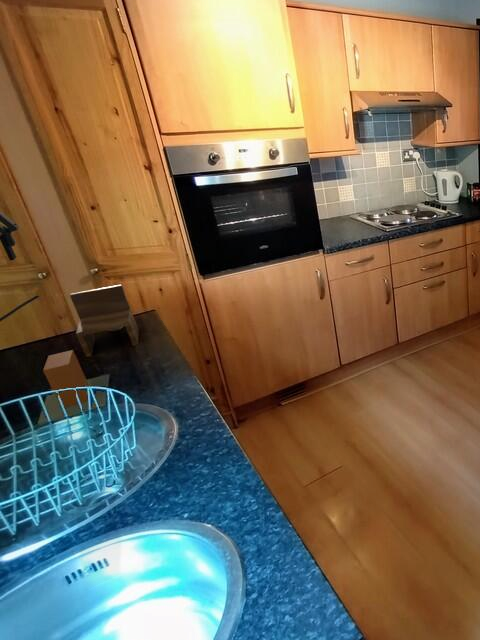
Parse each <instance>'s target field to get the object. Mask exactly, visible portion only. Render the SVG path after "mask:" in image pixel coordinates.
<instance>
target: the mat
mask: <svg viewBox="0 0 480 640" xmlns="http://www.w3.org/2000/svg"><path fill="white" fill-rule="evenodd" d="M86 380H87V382H88V384H89V386H106V387H108V388H109V381H110V374H103V375H100V376H97V377H92V378H88V379H86ZM49 390H52V388H50V389H49ZM95 398H96V399H97V401H98V403H99V406H100V408H103V407H106V405H107V398H106V393H105V392H102V391H96V394H95ZM44 404H45V406H46V409H47V411H48V414H49V416H50V418H51V420H52V421H53V422H56V421H59V420H63V419H65V418H64V414H63V411H62V409H61V407H60V404H59V402H58V400H57V398H56V396H55V394H52V395H47V394H46V397H45V399H44V403H43V405H44ZM81 404H82V411H83V413H86V412H89V411H88V395H87V400H86V402H83V403H81ZM65 408H66V411H67V414H68V416H69V417H73V416H76V415H79V414H81V413H80V412H81V411H80V409H79V406H78V404H76V405H72V406H69V407H65ZM91 409H92V410H91V411H93V410H97V409H98V408H97V407H96V404H95V402H93V403H92V407H91ZM69 417H68V418H69ZM46 424H48V423H47V419H46V418H45V415H44V412H43V411H42V410H41V412H40V416H39V419H38V421H37V425H38V426H42V425H46Z"/></svg>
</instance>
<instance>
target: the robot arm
mask: <svg viewBox="0 0 480 640" xmlns="http://www.w3.org/2000/svg"><path fill="white" fill-rule="evenodd" d="M19 228H20V225H19V224H17V222H15V221H14V220H13V219H11V218H10V217H9V216H7V215H6V214H5V213H3V212H2V211H1V210H0V243H1V245H2V247H3V249H4V251H5V253H6V255H7V257H8V260H9V261H14V260H16V258H17V255H16V253H15V251H14V249H13V247H15V245H16V241H15V238H14V236H13V234H12V233H13V232H15V231H17V230H18V229H19ZM39 298H40V296H39V295H38V294H37V295H34V296H33V297H31V298H30V299H28V300H26V301H24V302H23V303H21V304H20V305H18V306H17V307H15V308H14V309H12V310H11V311H8V313H6V314H4V315H2V316H1V317H0V322H2V321H4V320H5V319H7V318H8V317H9V316H11V315H12V314H14V313H16V312H17V311H18V310H20V309H22V308H23V307H25V306H26V305H28V304H29V303H32V302H33V301H35V300H37V299H39Z"/></svg>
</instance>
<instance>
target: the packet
mask: <svg viewBox="0 0 480 640" xmlns="http://www.w3.org/2000/svg"><path fill="white" fill-rule="evenodd" d="M42 372H43V374H44V376H45V377H46V379H47V382H48V384H49V386H50V389H52V390H59V389H66V388H76V387H85V386H89V384H88V382H87V380H88V379H87V378H86V376H85V373H84V371H83V369H82V367H81V364H80V363H79V360H78V358H77V356H76V354H75V351H74V349H71V350H66V351H63V352H57V353H55V354H50V355H48V356H47V359H46V362H45V364H44V367H43V369H42ZM54 394H55V396H56V398H57V400H58V395H59V396H60V398H61V400H62V402H63V404H64V407H69V406H72V405H76V404H78V403H77V399H76V391H75V390H69V391H62V392H60V393H59V394H58V393H54ZM77 394H78V397H79V399H80V401H81V403H83V402H86V400H87V391H86V390H78V391H77ZM58 402H59V400H58ZM59 404H60V403H59Z"/></svg>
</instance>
